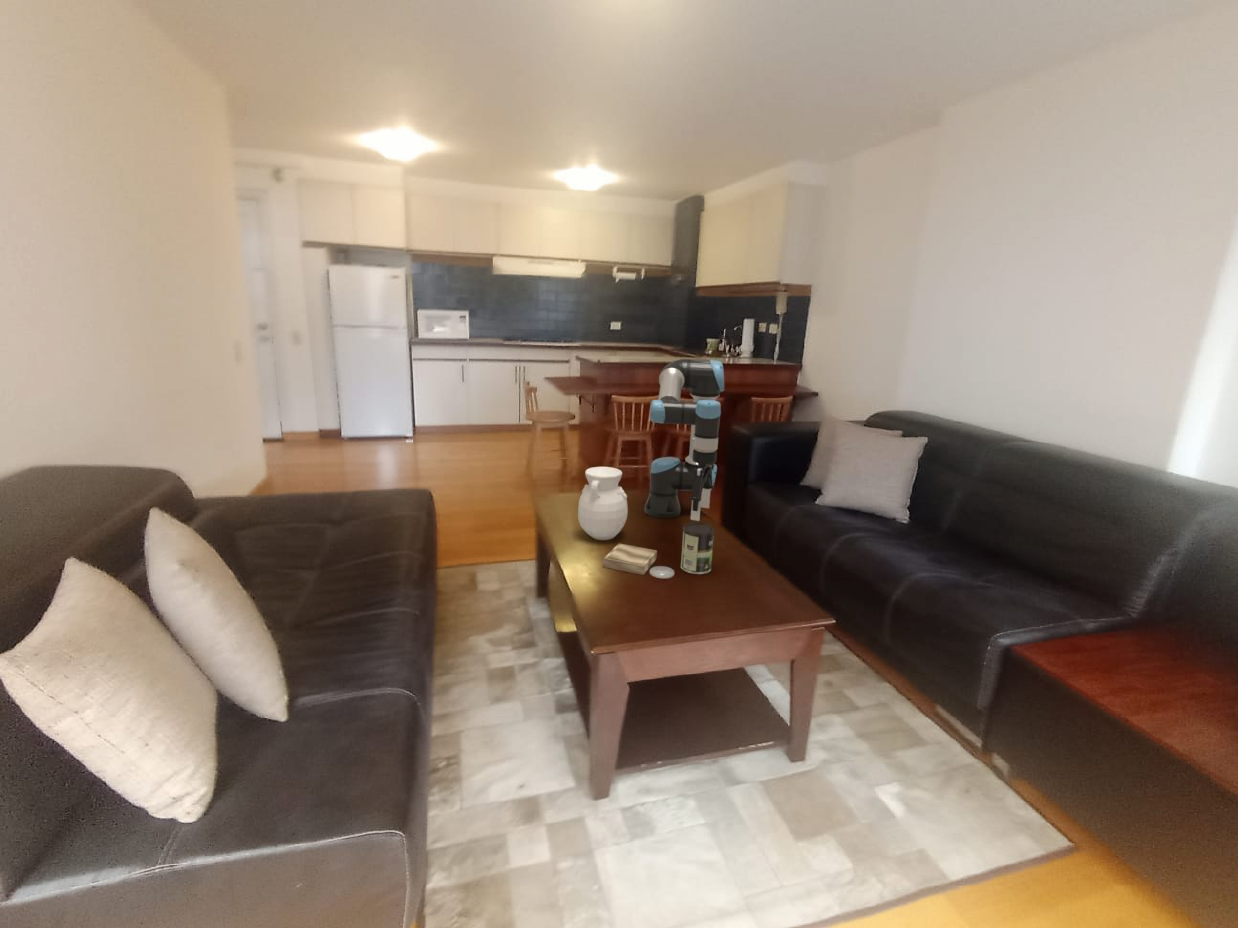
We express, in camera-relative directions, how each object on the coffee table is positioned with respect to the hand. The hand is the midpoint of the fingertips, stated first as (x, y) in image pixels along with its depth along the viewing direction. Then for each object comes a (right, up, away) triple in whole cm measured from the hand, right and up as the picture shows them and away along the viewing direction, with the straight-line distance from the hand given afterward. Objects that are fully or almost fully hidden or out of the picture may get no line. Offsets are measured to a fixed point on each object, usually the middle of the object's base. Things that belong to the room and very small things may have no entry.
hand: (700, 513), depth 187 cm
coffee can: (-1, -19, +5) cm, 19 cm away
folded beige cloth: (-22, -17, +7) cm, 29 cm away
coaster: (-12, -19, 0) cm, 23 cm away
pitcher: (-33, -11, +29) cm, 45 cm away
